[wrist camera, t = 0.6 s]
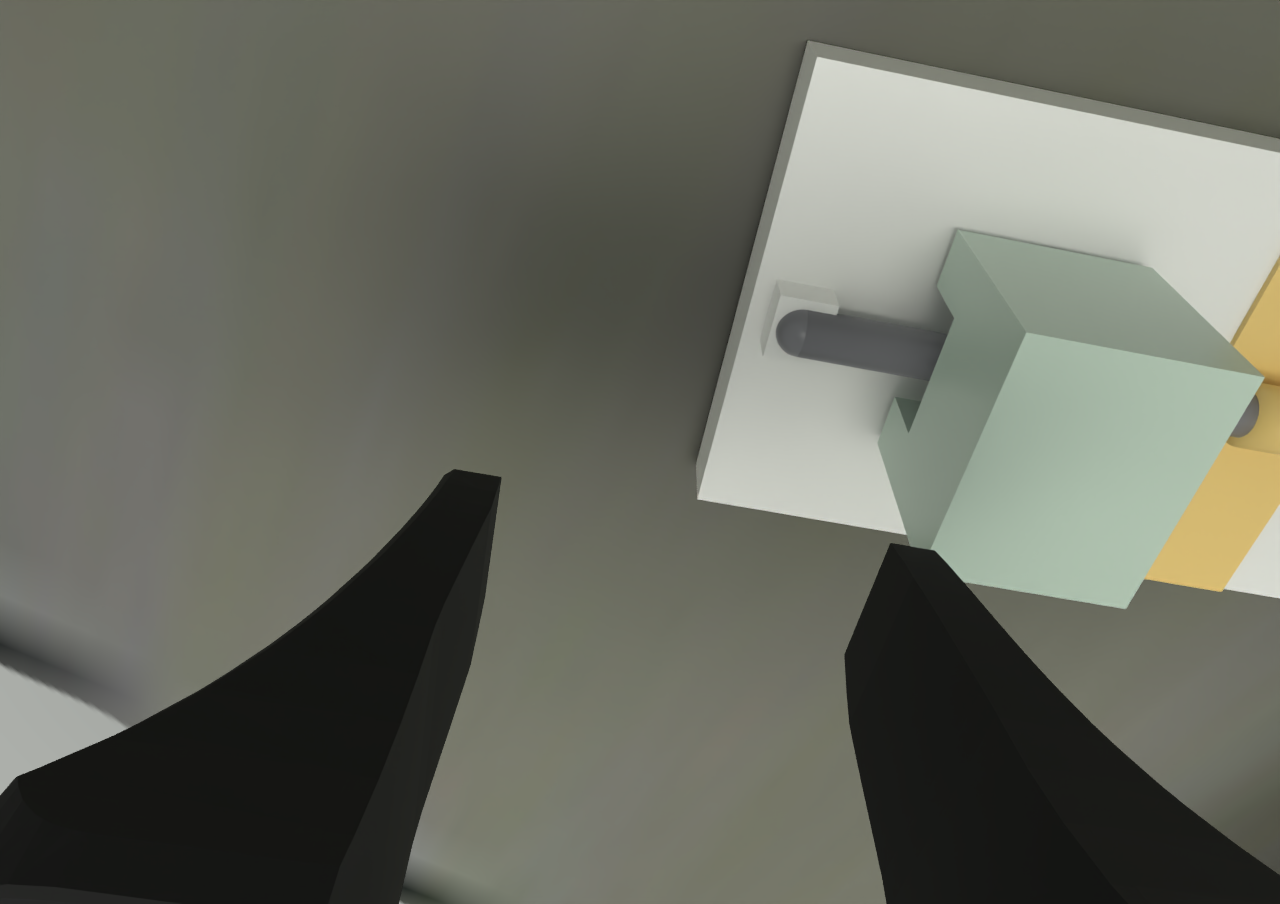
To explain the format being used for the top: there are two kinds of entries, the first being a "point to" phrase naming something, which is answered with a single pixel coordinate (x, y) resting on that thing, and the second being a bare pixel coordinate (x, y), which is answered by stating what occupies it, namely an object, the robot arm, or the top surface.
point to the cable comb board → (917, 251)
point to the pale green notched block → (1061, 421)
